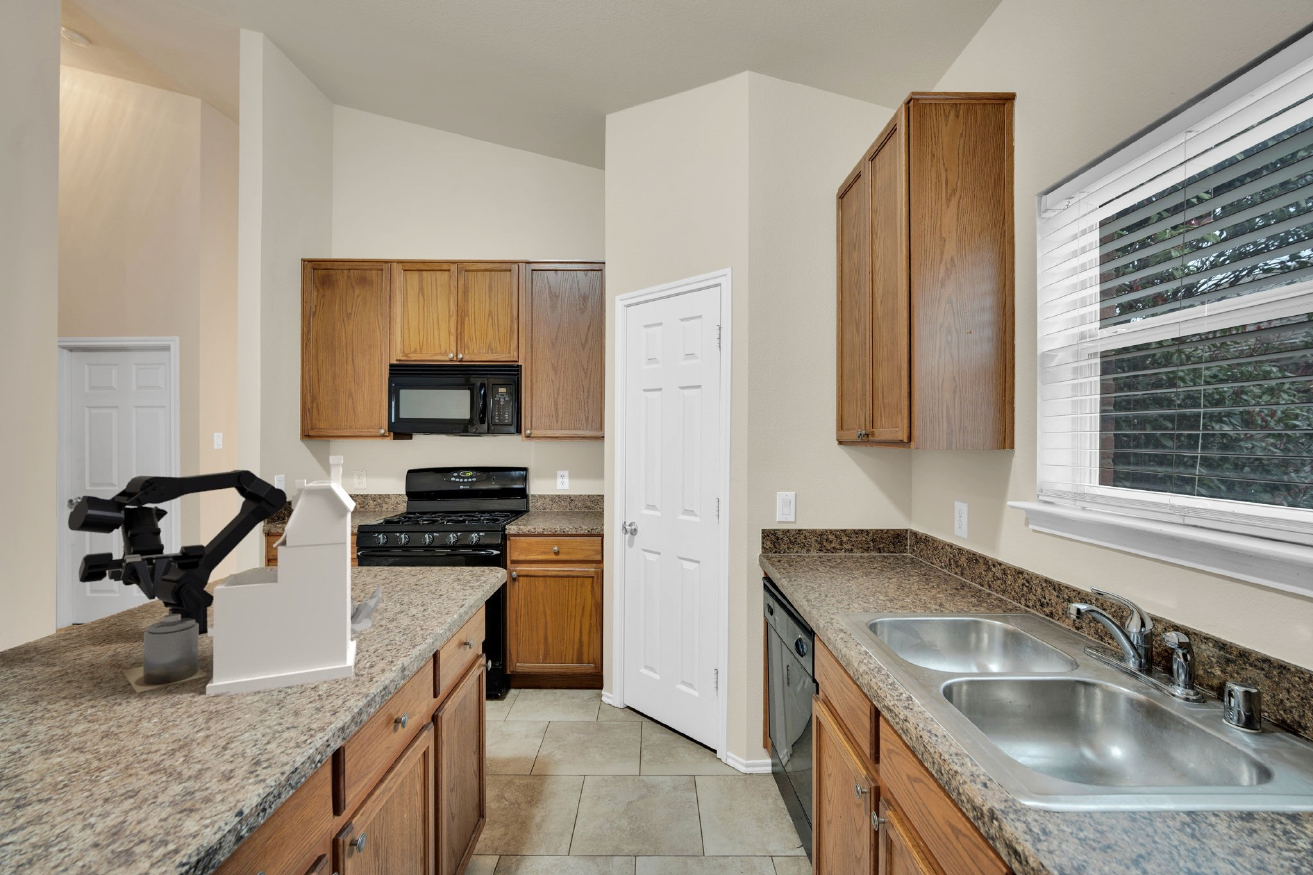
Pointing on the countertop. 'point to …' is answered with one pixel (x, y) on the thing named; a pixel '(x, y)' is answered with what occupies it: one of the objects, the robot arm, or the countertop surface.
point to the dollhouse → (291, 601)
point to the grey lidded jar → (170, 650)
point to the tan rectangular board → (137, 682)
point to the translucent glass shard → (364, 611)
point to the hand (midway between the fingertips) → (152, 598)
